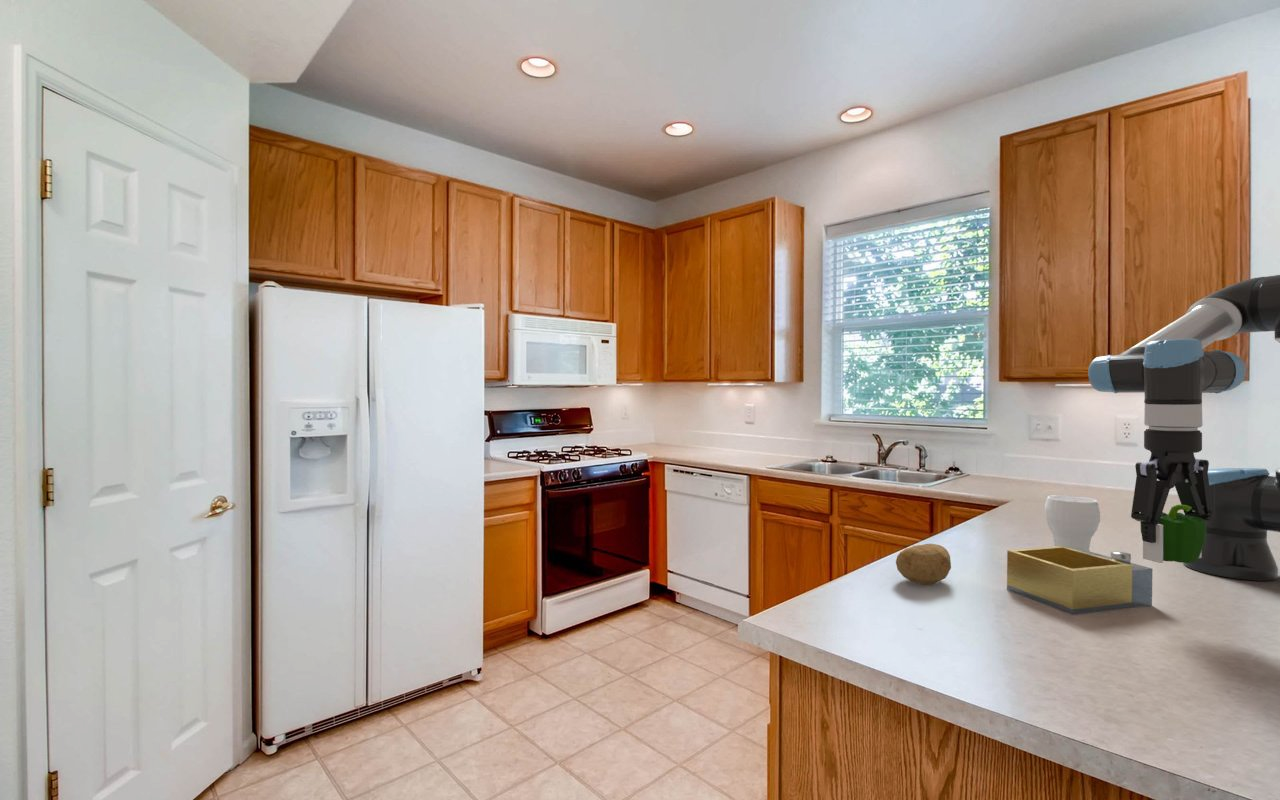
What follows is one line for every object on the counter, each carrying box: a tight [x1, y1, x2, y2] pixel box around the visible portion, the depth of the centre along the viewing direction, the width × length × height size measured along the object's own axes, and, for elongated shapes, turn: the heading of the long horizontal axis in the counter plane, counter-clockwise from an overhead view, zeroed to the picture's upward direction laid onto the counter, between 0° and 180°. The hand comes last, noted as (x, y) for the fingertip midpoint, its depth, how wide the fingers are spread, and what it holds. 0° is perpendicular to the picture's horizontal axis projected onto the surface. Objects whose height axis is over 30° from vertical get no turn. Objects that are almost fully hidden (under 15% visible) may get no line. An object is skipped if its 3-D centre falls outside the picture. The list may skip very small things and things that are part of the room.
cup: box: [1044, 494, 1101, 552], centre depth 140 cm, size 11×11×15 cm
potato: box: [895, 543, 952, 586], centre depth 125 cm, size 10×14×8 cm
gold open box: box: [1006, 546, 1153, 615], centre depth 116 cm, size 19×14×9 cm
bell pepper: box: [1139, 504, 1206, 564], centre depth 103 cm, size 8×8×10 cm
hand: (1172, 558), depth 104 cm, fingers closed on bell pepper, 8 cm apart
